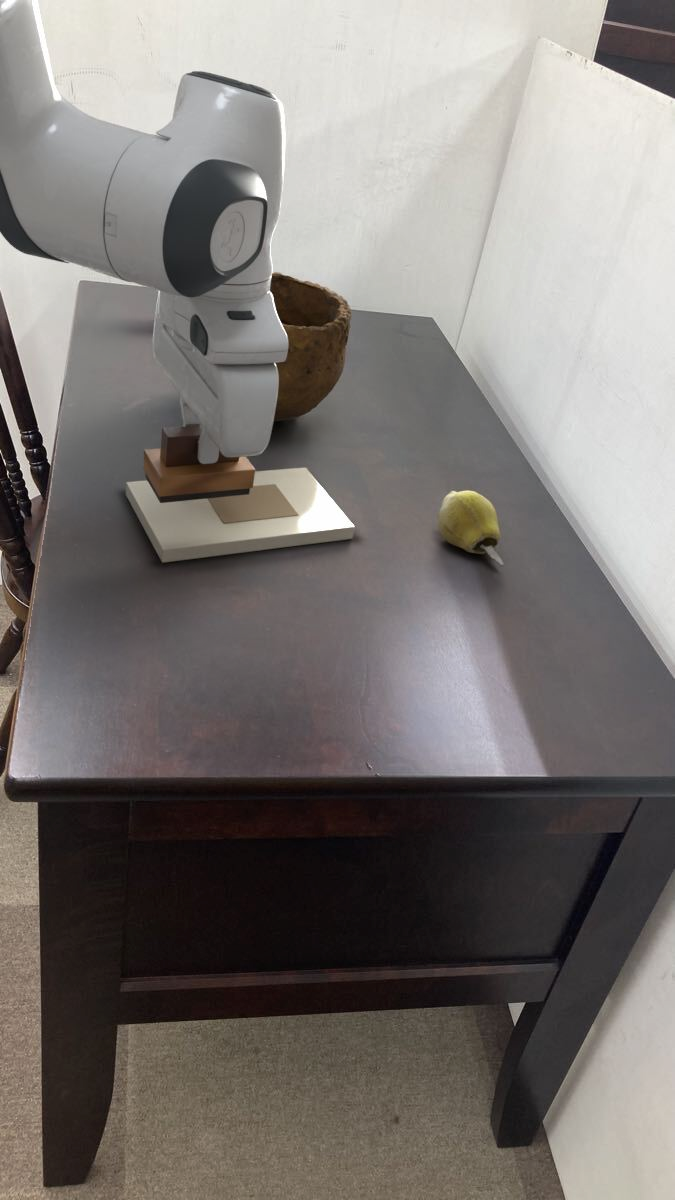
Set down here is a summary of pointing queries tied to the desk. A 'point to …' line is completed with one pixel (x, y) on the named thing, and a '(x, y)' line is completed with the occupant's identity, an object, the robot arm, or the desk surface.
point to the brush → (193, 469)
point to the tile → (242, 517)
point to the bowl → (308, 343)
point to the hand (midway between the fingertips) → (199, 451)
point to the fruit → (470, 523)
